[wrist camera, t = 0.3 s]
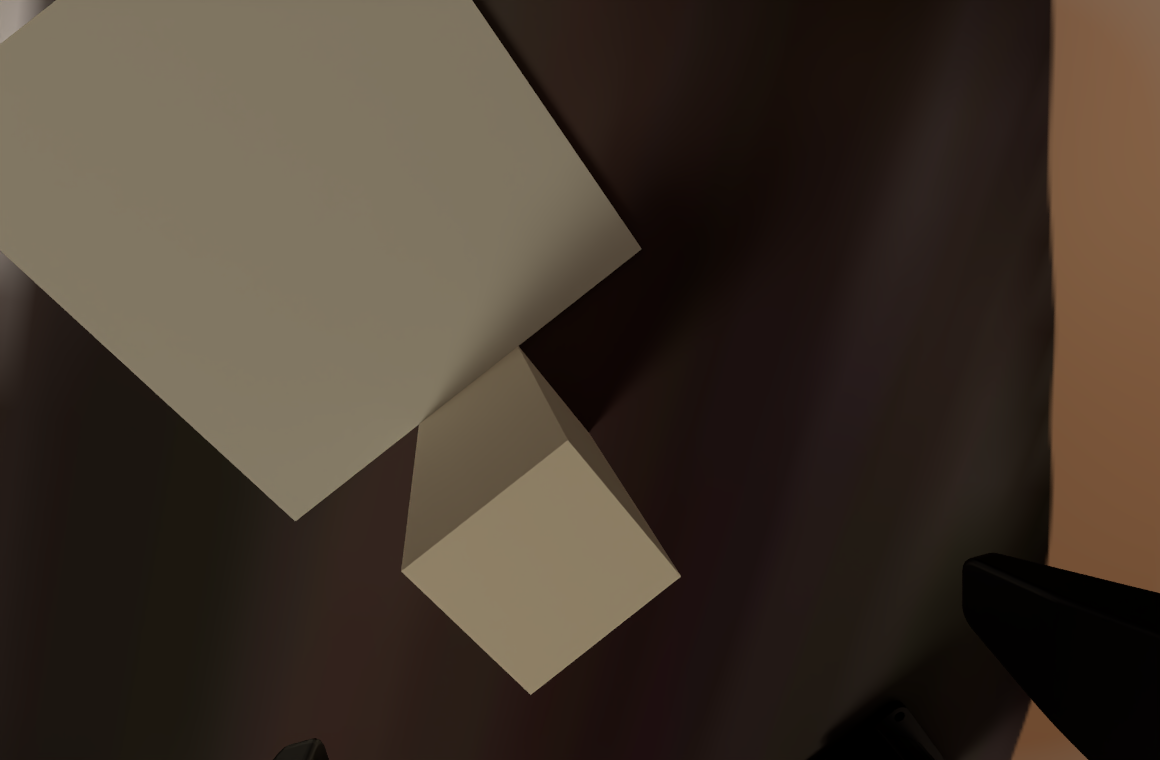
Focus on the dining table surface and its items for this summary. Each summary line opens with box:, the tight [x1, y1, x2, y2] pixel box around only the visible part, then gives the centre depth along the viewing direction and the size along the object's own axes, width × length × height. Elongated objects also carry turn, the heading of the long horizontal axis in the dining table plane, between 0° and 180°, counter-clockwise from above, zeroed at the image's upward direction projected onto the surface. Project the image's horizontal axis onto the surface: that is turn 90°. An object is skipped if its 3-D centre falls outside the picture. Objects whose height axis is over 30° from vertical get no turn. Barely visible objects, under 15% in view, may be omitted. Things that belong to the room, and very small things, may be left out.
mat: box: [0, 0, 641, 521], centre depth 18 cm, size 14×14×1 cm
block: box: [401, 346, 681, 695], centre depth 17 cm, size 4×4×9 cm
